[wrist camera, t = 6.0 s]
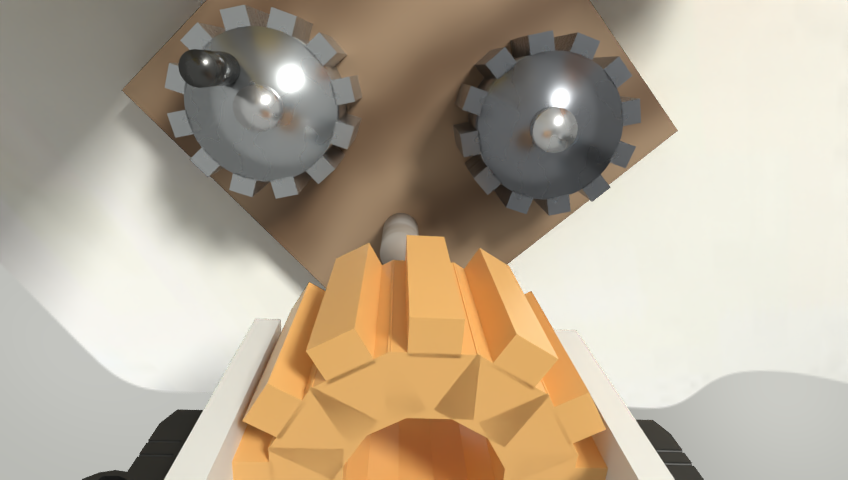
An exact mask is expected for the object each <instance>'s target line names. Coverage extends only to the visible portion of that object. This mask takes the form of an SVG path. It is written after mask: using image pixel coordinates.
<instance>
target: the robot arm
mask: <svg viewBox="0 0 848 480" xmlns="http://www.w3.org/2000/svg"><path fill="white" fill-rule="evenodd" d="M553 330H554V329H553ZM554 331H555V333H556V335H557V337H558V338H559V340H560V342H561V344H562V345H563V347H564V349H565V351H566V352H567V354H568V356H569V358H570V359H571V361H572V363H573V365H574V366H575V368H576V370H577V372H578V373H579V375H580V377H581V379H582V380H583V382H584V384H585V386H586V387H587V389H588V391H589V393H590V395H591V397H592V399H593V401H594V404H595V406H596V408H597V410H598V412H599V415H600V417H601V419H602V421H603V423H604V426H605V428H606V430H604V431H601V432H599V433H597V434H594V435H592V438H593V440H594V442H595V444H596V446H597V448H598V450H599V452H600V454H601V456H602V458H603V460H604V461H605V463H606V465H607V467H608V471H607V475H606V479H605V480H704V479H703V478H702V477H701V475H700V474H699V472H698V471H697V470H696V468H695V467H694V466H692V464H691V461H690V460H689V459H688V457H687V456H686V455H685V453H682V449H681V448H680V446H679V445H678V443H677V442H676V441H675V439H674V438H673V437H672V435H671V434H670V433H669V432H667V431H666V430H665V429H664V428H662V427H661V426H660V425H659V424H657V423H656V422H655V421H653V420H635V419H634V417H633V415H632V414H631V412H630V411H629V409H628V408H627V406H626V405H625V403H624V402H623V400H622V399H621V397H620V396H619V394H618V393H617V391H616V390H615V388H614V386H613V385H612V383H611V382H610V380H609V379H608V377H607V376H606V374H605V373H604V371H603V370H602V368H601V367H600V365H599V364H598V362H597V361H596V359H595V358H594V356H593V355H592V353H591V352H590V350H589V349H588V347H587V345H586V344H585V342H584V341H583V339H582V338H581V336H580V335H579V333H578V332H577V330H554ZM280 334H281V320H280V319H255V320H254V322H253V324H252V325H251V327H250V329H249V331H248V332H247V334H246V336H245V338H244V339H243V341H242V343H241V345H240V346H239V348H238V350H237V352H236V354H235V355H234V357H233V359H232V361H231V362H230V364H229V366H228V368H227V369H226V371H225V373H224V375H223V376H222V378H221V380H220V382H219V384H218V385H217V387H216V389H215V391H214V392H213V394H212V396H211V398H210V400H209V401H208V403H207V405H206V406H205V408H204V410H176V411H175V412H174V413H173V414H171V415H170V416H169V417H167V418H166V419H165V420H164V421H162V422H161V423H160V424H159V425H158V427H157V428H156V430H155V431H154V433H153V434H152V436H151V437H150V439H149V442H148V443H146V445H145V446H144V448H143V449H142V451H141V452H140V455H139V457H137V458H136V460H135V461H134V463H133V464H132V466H131V467H130V469H129V470H128V472H124V471H117V470H114V471H107V472H100V473H97V474H94V475H92V476H89V477H86V478H84V479H82V480H233V470H232V460H233V458H234V455H235V453H236V451H237V448H238V446H239V444H240V441H241V439H242V436H243V434H244V432H245V429H246V427H247V425H248V424H247V423H245V422H243V418H244V416H245V414H246V412H247V409H248V407H249V405H250V402H251V400H252V398H253V396H254V393H255V391H256V389H257V387H258V384H259V382H260V380H261V377H262V375H263V373H264V371H265V368H266V366H267V364H268V362H269V359H270V357H271V355H272V353H273V350H274V348H275V346H276V343H277V341H278V339H279V337H280Z"/></svg>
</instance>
